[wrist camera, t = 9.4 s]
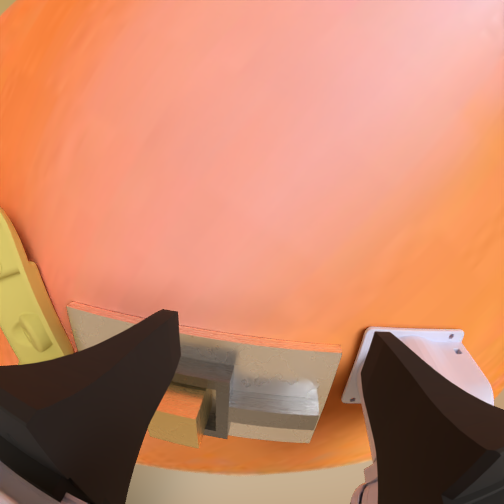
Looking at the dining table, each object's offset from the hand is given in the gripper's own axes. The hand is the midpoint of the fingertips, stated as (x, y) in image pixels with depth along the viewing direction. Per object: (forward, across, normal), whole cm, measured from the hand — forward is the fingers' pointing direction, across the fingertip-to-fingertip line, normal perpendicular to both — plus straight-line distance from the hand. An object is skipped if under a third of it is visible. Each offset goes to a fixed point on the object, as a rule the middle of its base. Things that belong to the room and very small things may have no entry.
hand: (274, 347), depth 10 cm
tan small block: (+8, +6, +12) cm, 16 cm away
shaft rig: (+9, +6, +12) cm, 17 cm away
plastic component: (+10, +25, +6) cm, 28 cm away
